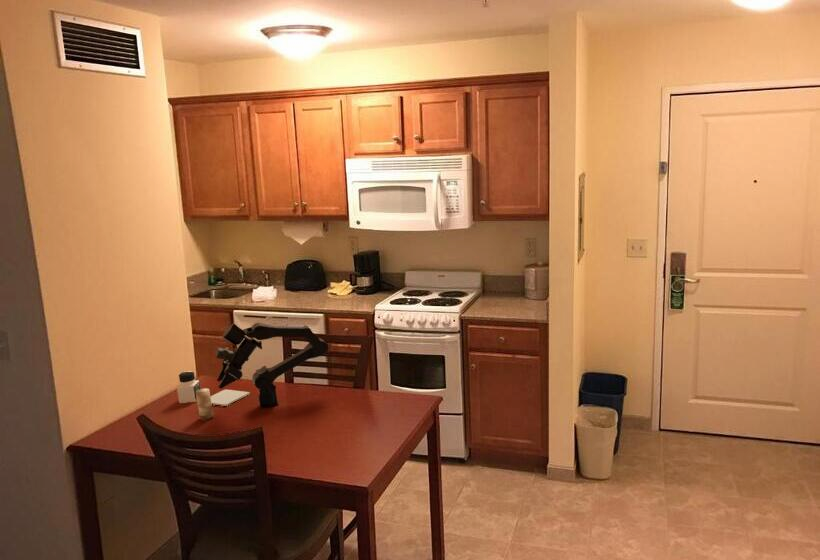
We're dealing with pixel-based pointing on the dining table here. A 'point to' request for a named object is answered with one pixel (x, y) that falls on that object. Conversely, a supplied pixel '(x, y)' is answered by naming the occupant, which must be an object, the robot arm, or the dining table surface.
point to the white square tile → (227, 397)
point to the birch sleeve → (204, 404)
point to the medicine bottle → (187, 387)
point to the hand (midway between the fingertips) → (218, 384)
